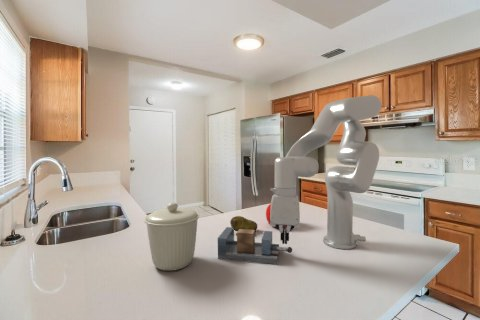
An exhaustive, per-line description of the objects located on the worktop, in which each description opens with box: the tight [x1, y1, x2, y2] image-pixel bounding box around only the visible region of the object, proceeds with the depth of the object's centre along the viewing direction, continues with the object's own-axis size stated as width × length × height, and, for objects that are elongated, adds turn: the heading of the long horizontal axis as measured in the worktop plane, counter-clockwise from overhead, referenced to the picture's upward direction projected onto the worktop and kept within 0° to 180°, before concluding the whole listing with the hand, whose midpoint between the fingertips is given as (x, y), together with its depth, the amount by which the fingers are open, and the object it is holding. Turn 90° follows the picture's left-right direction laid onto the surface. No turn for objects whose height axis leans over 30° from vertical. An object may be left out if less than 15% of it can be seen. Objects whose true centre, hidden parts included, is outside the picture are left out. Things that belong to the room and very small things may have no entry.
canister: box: [143, 202, 200, 272], centre depth 79 cm, size 18×18×21 cm
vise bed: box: [217, 226, 280, 265], centre depth 86 cm, size 21×12×8 cm, turn 78°
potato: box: [229, 215, 258, 232], centre depth 108 cm, size 8×13×8 cm, turn 93°
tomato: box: [265, 203, 287, 228], centre depth 117 cm, size 13×14×12 cm
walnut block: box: [236, 229, 256, 253], centre depth 87 cm, size 6×4×7 cm, turn 77°
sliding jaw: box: [261, 230, 293, 256], centre depth 84 cm, size 10×9×6 cm
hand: (284, 242), depth 83 cm, fingers closed
